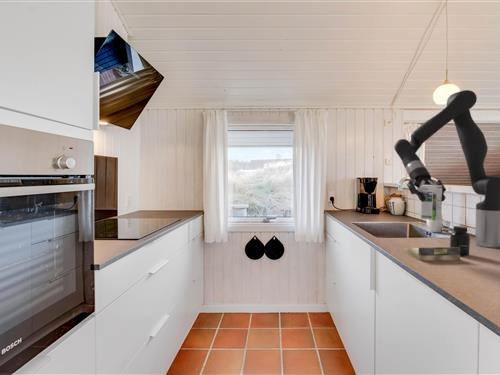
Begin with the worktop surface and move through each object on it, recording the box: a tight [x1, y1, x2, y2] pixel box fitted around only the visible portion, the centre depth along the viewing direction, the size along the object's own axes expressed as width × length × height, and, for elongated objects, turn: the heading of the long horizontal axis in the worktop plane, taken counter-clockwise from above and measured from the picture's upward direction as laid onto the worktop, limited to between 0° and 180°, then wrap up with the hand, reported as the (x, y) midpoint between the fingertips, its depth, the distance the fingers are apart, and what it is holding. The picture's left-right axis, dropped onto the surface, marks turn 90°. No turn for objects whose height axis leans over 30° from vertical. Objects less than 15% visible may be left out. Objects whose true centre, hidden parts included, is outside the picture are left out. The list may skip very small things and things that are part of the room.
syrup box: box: [420, 185, 443, 221], centre depth 119 cm, size 6×6×14 cm
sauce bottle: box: [426, 214, 444, 233], centre depth 167 cm, size 8×8×18 cm
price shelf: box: [403, 246, 461, 262], centre depth 120 cm, size 16×12×5 cm
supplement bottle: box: [449, 225, 471, 257], centre depth 122 cm, size 7×7×12 cm
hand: (433, 200), depth 118 cm, fingers closed on syrup box, 7 cm apart
